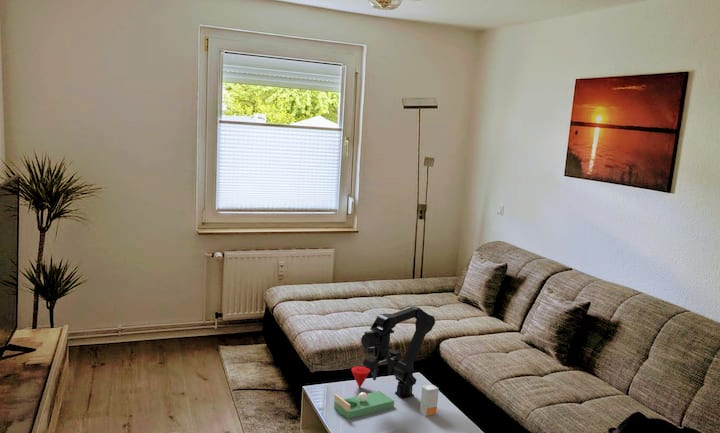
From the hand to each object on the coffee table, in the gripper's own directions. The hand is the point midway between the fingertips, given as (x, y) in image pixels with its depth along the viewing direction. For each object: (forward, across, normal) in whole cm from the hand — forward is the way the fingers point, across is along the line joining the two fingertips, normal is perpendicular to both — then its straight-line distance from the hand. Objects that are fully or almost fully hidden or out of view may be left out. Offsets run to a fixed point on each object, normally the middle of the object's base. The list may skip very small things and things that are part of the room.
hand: (381, 377), depth 249 cm
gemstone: (+12, -3, -16) cm, 21 cm away
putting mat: (+12, +9, -1) cm, 15 cm away
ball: (+9, +10, -1) cm, 13 cm away
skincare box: (+13, -10, +19) cm, 25 cm away
